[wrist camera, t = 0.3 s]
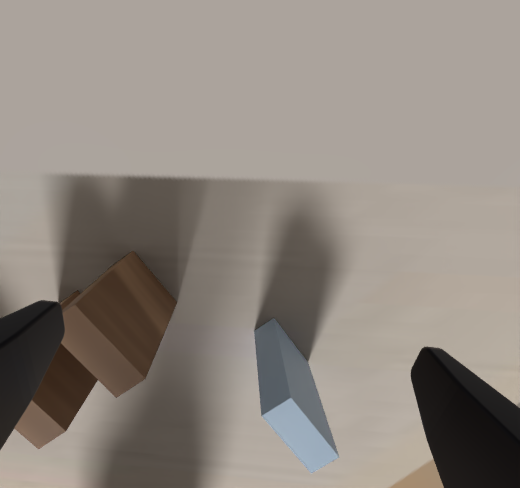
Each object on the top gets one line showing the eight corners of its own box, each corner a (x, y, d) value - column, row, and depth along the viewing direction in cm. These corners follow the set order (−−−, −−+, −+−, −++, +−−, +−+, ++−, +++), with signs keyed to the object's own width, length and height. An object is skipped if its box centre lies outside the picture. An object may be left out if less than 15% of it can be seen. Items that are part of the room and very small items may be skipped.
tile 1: (157, 315, 24) (116, 397, 16) (112, 265, 23) (43, 326, 15) (177, 302, 24) (145, 378, 16) (133, 250, 23) (74, 304, 15)
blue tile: (288, 374, 26) (311, 473, 18) (254, 330, 25) (261, 415, 17) (307, 362, 26) (339, 457, 18) (274, 317, 25) (290, 397, 17)
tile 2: (104, 351, 25) (38, 449, 17) (57, 304, 23) (-38, 384, 15) (123, 339, 24) (66, 431, 16) (77, 290, 23) (-9, 363, 15)
